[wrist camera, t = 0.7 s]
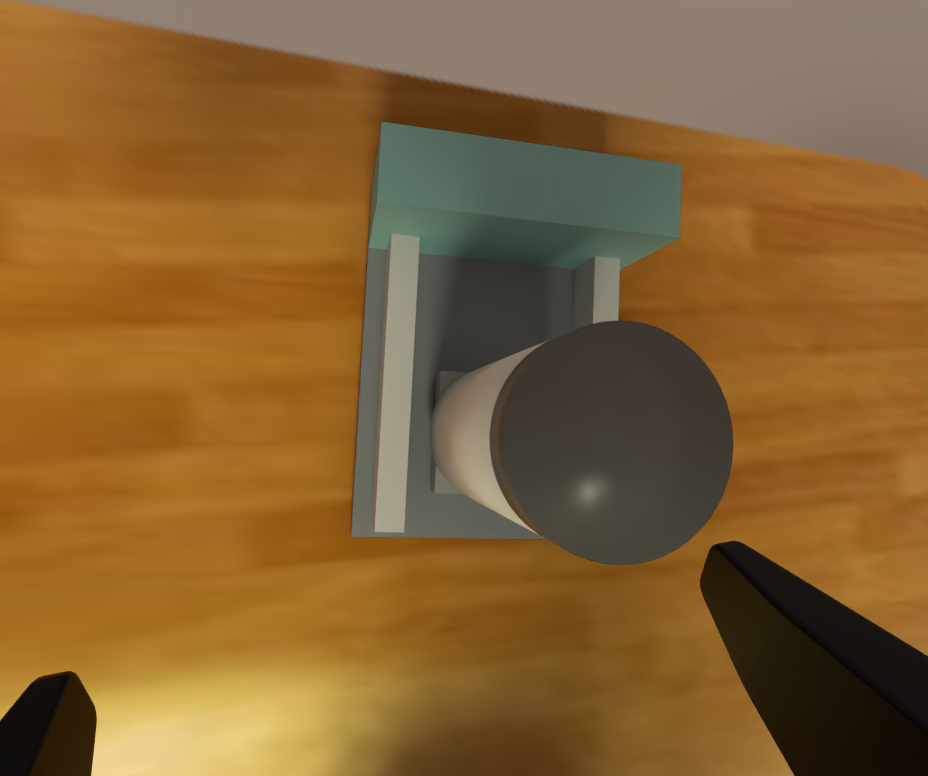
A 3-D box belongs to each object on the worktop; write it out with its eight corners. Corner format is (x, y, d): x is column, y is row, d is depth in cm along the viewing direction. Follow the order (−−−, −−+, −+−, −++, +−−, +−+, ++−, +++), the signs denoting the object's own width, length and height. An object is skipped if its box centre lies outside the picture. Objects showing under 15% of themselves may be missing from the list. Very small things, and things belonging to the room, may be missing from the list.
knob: (550, 501, 24) (730, 565, 13) (422, 498, 23) (500, 564, 12) (554, 373, 25) (735, 330, 14) (429, 364, 24) (511, 310, 13)
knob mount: (596, 535, 26) (671, 567, 20) (350, 532, 24) (355, 566, 18) (606, 221, 27) (681, 164, 21) (370, 192, 25) (381, 121, 19)
